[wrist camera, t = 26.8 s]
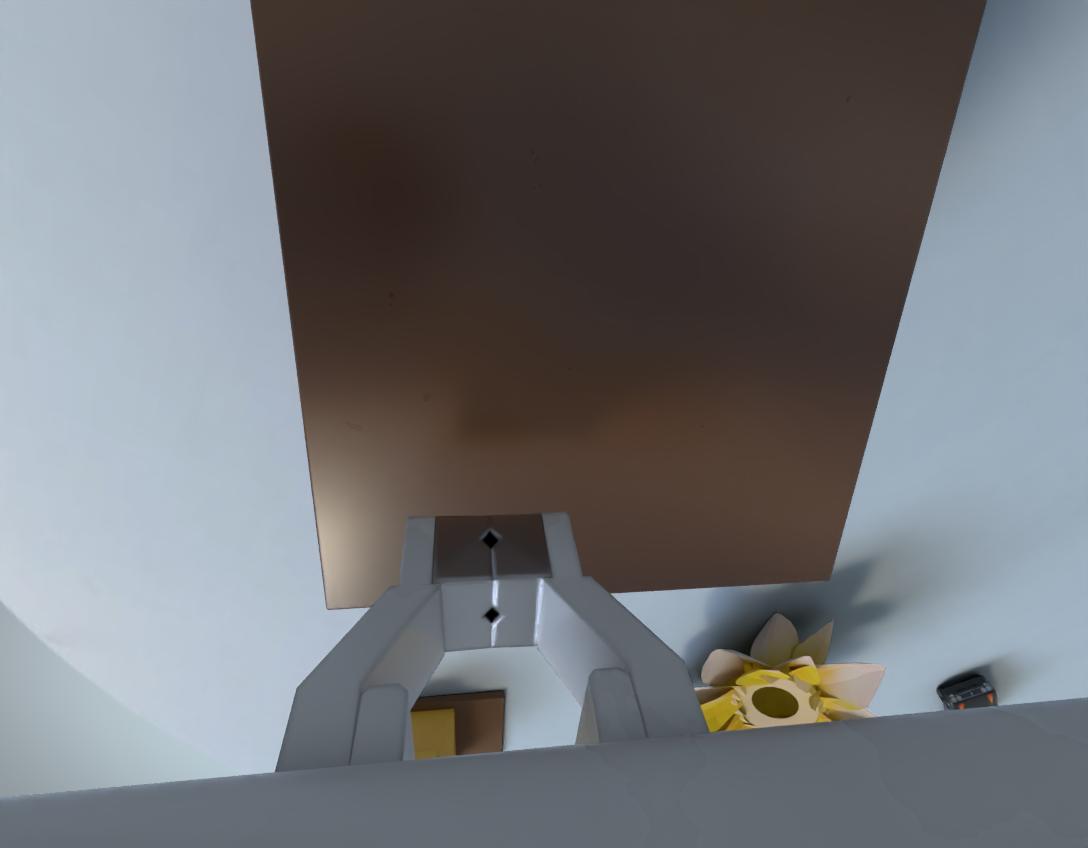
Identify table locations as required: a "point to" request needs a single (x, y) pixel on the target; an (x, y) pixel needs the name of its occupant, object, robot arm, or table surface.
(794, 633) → the decorative flower
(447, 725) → the duck
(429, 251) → the chest lid
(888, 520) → the table surface
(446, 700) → the mat
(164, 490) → the table surface
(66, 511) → the table surface
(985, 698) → the toy car
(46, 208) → the table surface
